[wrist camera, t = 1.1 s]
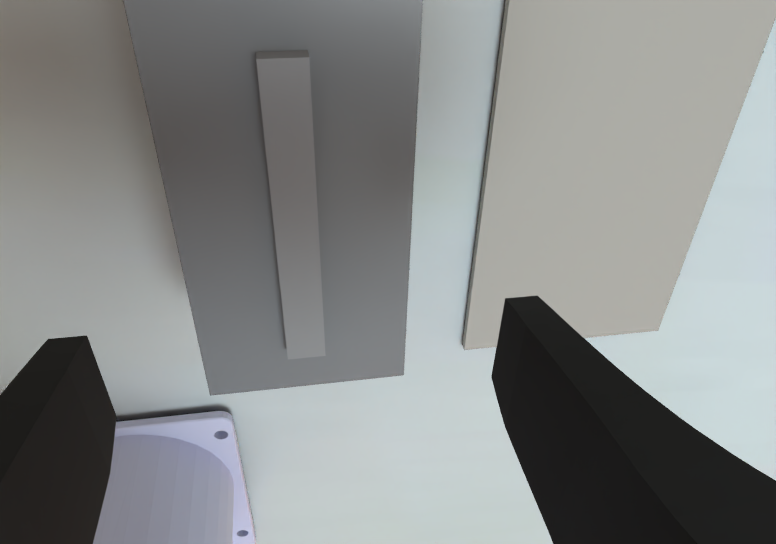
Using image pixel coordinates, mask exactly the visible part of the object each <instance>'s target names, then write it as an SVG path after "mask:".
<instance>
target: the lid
mask: <svg viewBox="0 0 776 544" xmlns="http://www.w3.org/2000/svg"><path fill="white" fill-rule="evenodd" d="M123 2H124V6H125V11H126V16H127V20H128V25H129V29H130V34H131V38H132V43H133V47H134V52H135V56H136V61H137V66H138V70H139V75H140V79H141V84H142V88H143V93H144V97H145V102H146V106H147V111H148V115H149V120H150V125H151V129H152V134H153V138H154V143H155V147H156V152H157V156H158V161H159V165H160V170H161V175H162V179H163V184H164V188H165V193H166V197H167V202H168V206H169V211H170V215H171V220H172V224H173V229H174V234H175V238H176V243H177V247H178V252H179V256H180V261H181V265H182V270H183V274H184V279H185V284H186V288H187V293H188V297H189V302H190V306H191V311H192V315H193V320H194V324H195V329H196V333H197V338H198V343H199V347H200V352H201V356H202V361H203V365H204V370H205V374H206V379H207V383H208V388H209V393H210V396H211V395H220V394H230V393H239V392H249V391H258V390H268V389H277V388H287V387H296V386H306V385H315V384H325V383H334V382H344V381H353V380H363V379H372V378H382V377H391V376H401V375H404V359H405V339H406V320H407V300H408V280H409V261H410V241H411V221H412V202H413V182H414V163H415V143H416V123H417V104H418V84H419V64H420V45H421V25H422V5H423V0H123Z"/></svg>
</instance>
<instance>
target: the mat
mask: <svg viewBox="0 0 776 544" xmlns="http://www.w3.org/2000/svg"><path fill="white" fill-rule="evenodd" d="M775 18H776V0H506V2H505V10H504V18H503V26H502V34H501V42H500V49H499V57H498V65H497V73H496V81H495V89H494V97H493V105H492V113H491V121H490V129H489V137H488V145H487V153H486V161H485V169H484V176H483V184H482V192H481V200H480V208H479V216H478V224H477V232H476V240H475V248H474V256H473V264H472V272H471V280H470V288H469V296H468V303H467V311H466V319H465V327H464V335H463V343H462V345H463V348H464V350H469V349H479V348H489V347H497V342H498V337H499V331H500V325H501V319H502V314H503V308H504V302H505V298H515V297H526V296H539V297H540V298H541V299H542V300H543V301H544V302H545V303H546V304H547V305H548V306H550V307H551V308H552V309H553V310H554V311H555V312H556V313H557V314H558V315H559V316H560V317H561V318H563V319H564V320H565V321H566V322H567V323H568V324H569V325H570V326H571V327H572V328H573V329H574V330H575V331H577V332H578V333H579V334H580V335H581V336H582V337H583V338H588V337H598V336H608V335H618V334H628V333H638V332H648V331H658V329H659V327H660V324H661V321H662V319H663V316H664V313H665V311H666V308H667V305H668V303H669V300H670V297H671V295H672V292H673V289H674V287H675V284H676V281H677V279H678V276H679V273H680V271H681V268H682V265H683V263H684V260H685V258H686V255H687V252H688V250H689V247H690V244H691V242H692V239H693V236H694V234H695V231H696V228H697V226H698V223H699V220H700V218H701V215H702V212H703V210H704V207H705V204H706V202H707V199H708V196H709V194H710V191H711V188H712V186H713V183H714V180H715V178H716V175H717V172H718V170H719V167H720V164H721V162H722V159H723V157H724V154H725V151H726V149H727V146H728V143H729V141H730V138H731V135H732V133H733V130H734V127H735V125H736V122H737V119H738V117H739V114H740V111H741V109H742V106H743V103H744V101H745V98H746V95H747V93H748V90H749V87H750V85H751V82H752V79H753V77H754V74H755V71H756V69H757V66H758V63H759V61H760V58H761V56H762V53H763V50H764V48H765V45H766V42H767V40H768V37H769V34H770V32H771V29H772V26H773V24H774V21H775Z"/></svg>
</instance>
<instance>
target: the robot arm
mask: <svg viewBox="0 0 776 544" xmlns="http://www.w3.org/2000/svg"><path fill="white" fill-rule="evenodd" d="M492 381H493V384H494V388H495V392H496V396H497V400H498V403H499V407H500V411H501V414H502V417H503V421H504V424H505V428H506V430H507V433H508V435H509V438H510V440H511V442H512V445H513V447H514V450H515V452H516V455H517V457H518V459H519V462H520V464H521V467H522V469H523V472H524V474H525V476H526V479H527V481H528V483H529V486H530V488H531V491H532V493H533V495H534V498H535V500H536V503H537V505H538V507H539V510H540V512H541V514H542V517H543V519H544V522H545V524H546V526H547V529H548V531H549V534H550V536H551V539H552V541H553V544H776V481H775V480H774V479H772V478H770V477H769V476H767V475H765V474H764V473H762V472H760V471H759V470H757V469H755V468H754V467H752V466H750V465H749V464H747V463H746V462H744V461H742V460H741V459H739V458H738V457H736V456H735V455H733V454H731V453H730V452H729V451H727V450H726V449H724V448H723V447H721V446H720V445H718V444H717V443H715V442H714V441H712V440H711V439H709V438H708V437H706V436H705V435H703V434H702V433H701V432H699V431H698V430H696V429H695V428H693V427H692V426H690V425H689V424H688V423H686V422H685V421H684V420H682V419H681V418H679V417H678V416H677V415H675V414H674V413H673V412H672V411H670V410H669V409H668V408H666V407H665V406H664V405H663V404H661V403H660V402H659V401H657V400H656V399H655V398H653V397H652V396H651V395H650V394H648V393H647V392H646V391H645V390H643V389H642V388H641V387H640V386H638V385H637V384H636V383H635V382H634V381H632V380H631V379H630V378H629V377H628V376H626V375H625V374H624V373H623V372H622V371H620V370H619V369H618V368H617V367H616V366H615V365H613V364H612V363H611V362H610V361H609V360H608V359H607V358H605V357H604V356H603V355H602V354H601V353H600V352H599V351H598V350H596V349H595V348H594V347H593V346H592V345H591V344H590V343H589V342H588V341H586V340H585V339H584V338H583V337H582V336H581V335H580V334H579V333H578V332H577V331H575V330H574V329H573V328H572V327H571V326H570V325H569V324H568V323H567V322H566V321H565V320H564V319H563V318H561V317H560V316H559V315H558V314H557V313H556V312H555V311H554V310H553V309H552V308H551V307H550V306H548V305H547V304H546V303H545V302H544V301H543V300H542V299H541V298H540V297H539V296H526V297H515V298H505V302H504V308H503V314H502V319H501V325H500V331H499V337H498V342H497V348H496V354H495V360H494V366H493V371H492ZM0 544H256V534H255V529H254V524H253V519H252V514H251V509H250V503H249V498H248V493H247V488H246V483H245V478H244V472H243V467H242V462H241V457H240V452H239V447H238V442H237V436H236V431H235V426H234V421H233V417H232V415H231V414H229V413H228V412H225V411H213V412H203V413H194V414H185V415H176V416H166V417H157V418H148V419H139V420H130V421H120V422H116V414H115V411H114V409H113V406H112V403H111V400H110V398H109V395H108V392H107V389H106V387H105V384H104V381H103V378H102V376H101V373H100V370H99V368H98V365H97V362H96V359H95V357H94V354H93V351H92V348H91V346H90V343H89V340H88V337H87V336H78V337H67V338H55V339H48V340H47V341H46V342H45V343H44V344H43V345H42V347H41V348H40V349H39V350H38V351H37V352H36V353H35V354H34V356H33V357H32V358H31V359H30V360H29V362H28V363H27V364H26V365H25V366H24V367H23V369H22V370H21V371H20V372H19V373H18V375H17V376H16V377H15V378H14V379H13V381H12V382H11V383H10V384H9V385H8V386H7V388H6V389H5V390H4V391H3V392H2V393H1V395H0Z"/></svg>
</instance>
